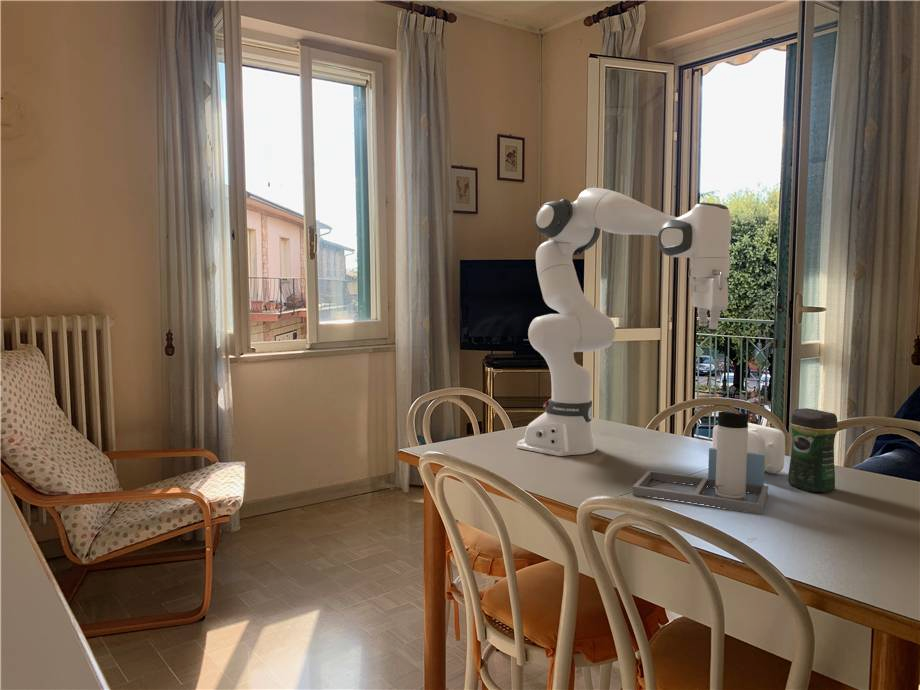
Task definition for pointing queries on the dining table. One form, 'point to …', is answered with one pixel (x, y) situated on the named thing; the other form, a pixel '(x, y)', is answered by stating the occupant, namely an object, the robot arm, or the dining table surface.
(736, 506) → the rack
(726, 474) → the travel mug
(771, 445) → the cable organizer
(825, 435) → the coffee jar
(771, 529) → the dining table surface
